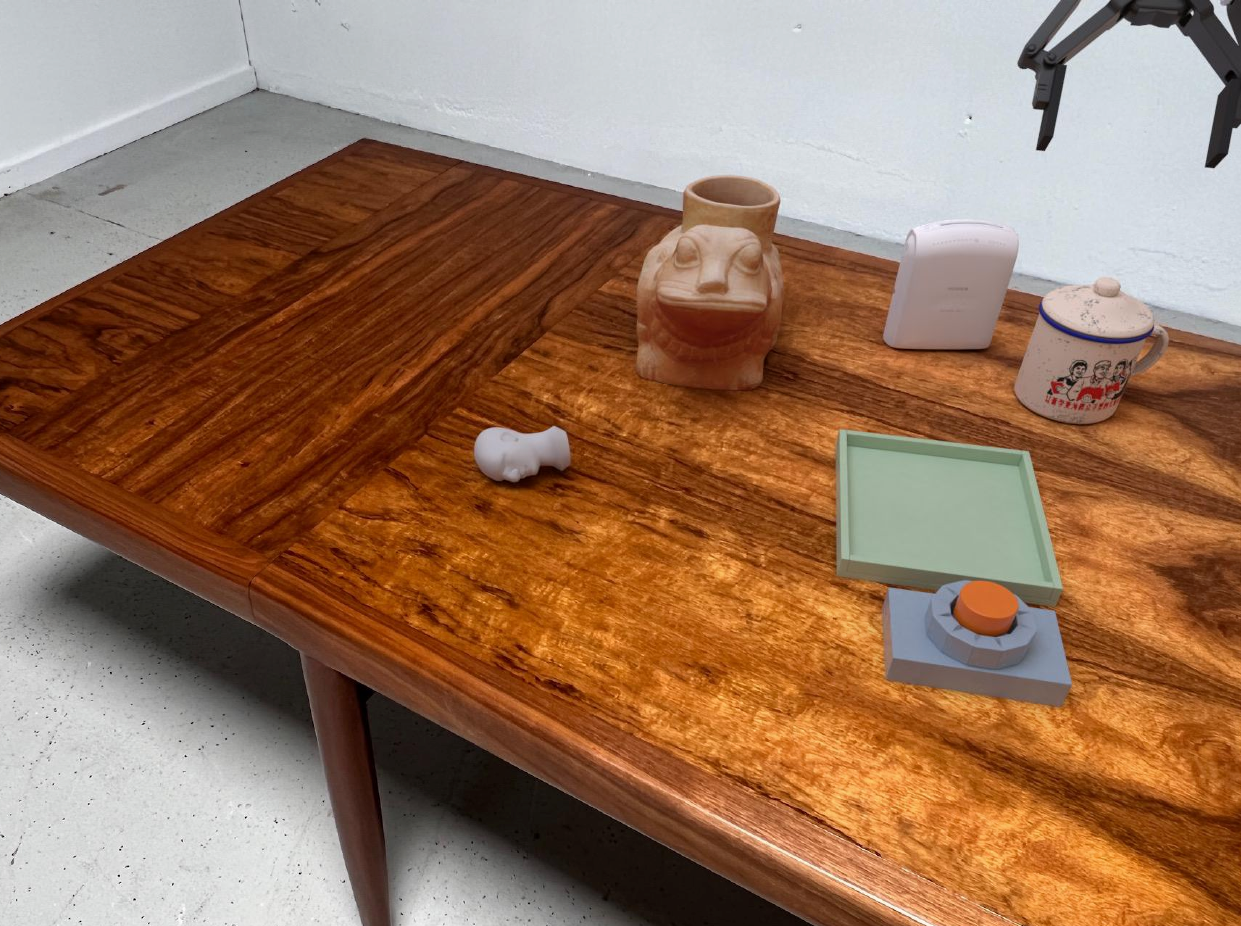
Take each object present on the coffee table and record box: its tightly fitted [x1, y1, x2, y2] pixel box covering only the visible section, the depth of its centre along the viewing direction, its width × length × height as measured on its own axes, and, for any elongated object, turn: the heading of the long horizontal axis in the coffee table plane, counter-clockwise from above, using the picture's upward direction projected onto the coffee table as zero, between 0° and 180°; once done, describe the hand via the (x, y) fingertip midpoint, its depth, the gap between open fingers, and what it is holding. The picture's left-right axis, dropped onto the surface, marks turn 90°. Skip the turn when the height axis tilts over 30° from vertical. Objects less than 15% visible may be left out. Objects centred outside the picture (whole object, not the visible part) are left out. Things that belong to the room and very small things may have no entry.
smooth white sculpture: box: [473, 425, 572, 483], centre depth 88 cm, size 4×8×5 cm
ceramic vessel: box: [635, 174, 785, 391], centre depth 101 cm, size 14×26×15 cm, turn 167°
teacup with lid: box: [1013, 276, 1170, 425], centre depth 94 cm, size 12×9×12 cm
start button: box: [954, 581, 1019, 637], centre depth 70 cm, size 4×4×2 cm
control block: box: [881, 580, 1073, 708], centre depth 72 cm, size 11×7×4 cm, turn 77°
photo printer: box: [882, 218, 1020, 350], centre depth 101 cm, size 10×4×12 cm, turn 88°
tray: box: [834, 428, 1064, 608], centre depth 84 cm, size 15×17×2 cm
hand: (1128, 152), depth 92 cm, fingers open, 13 cm apart
